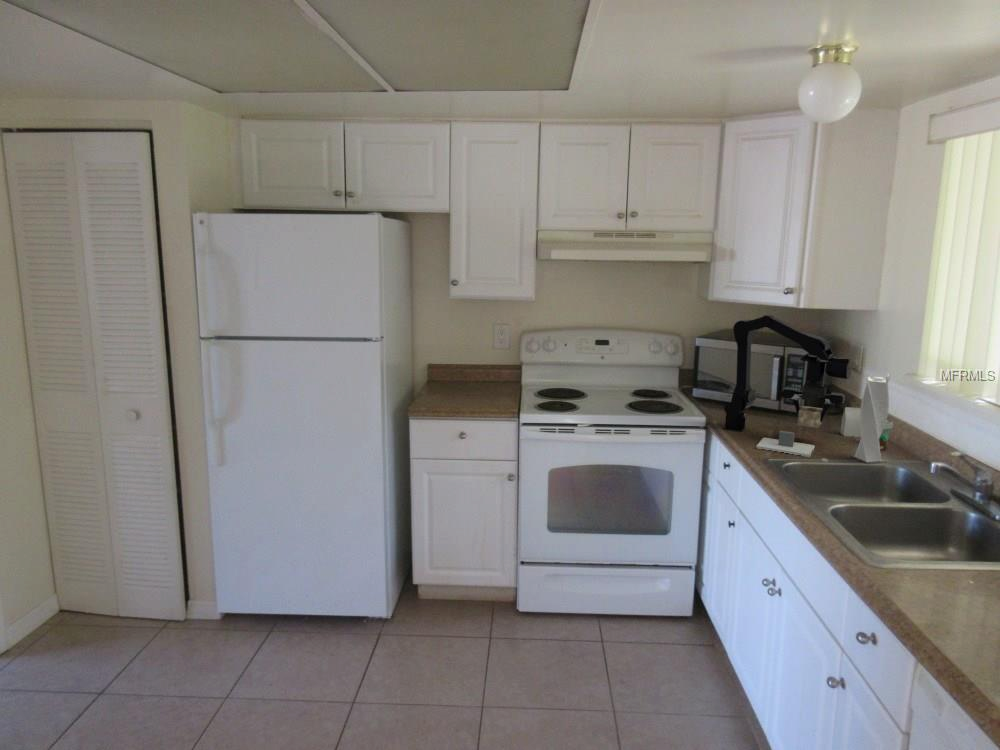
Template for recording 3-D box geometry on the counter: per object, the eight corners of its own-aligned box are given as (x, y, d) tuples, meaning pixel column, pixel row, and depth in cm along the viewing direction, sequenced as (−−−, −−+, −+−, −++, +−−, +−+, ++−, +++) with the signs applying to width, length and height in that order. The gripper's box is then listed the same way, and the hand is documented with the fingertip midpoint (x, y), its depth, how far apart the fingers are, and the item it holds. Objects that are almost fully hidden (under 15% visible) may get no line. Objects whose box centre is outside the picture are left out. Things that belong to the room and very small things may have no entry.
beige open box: (797, 425, 222) (798, 410, 221) (801, 420, 229) (802, 405, 228) (818, 428, 219) (819, 413, 218) (821, 422, 226) (823, 408, 225)
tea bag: (864, 437, 233) (867, 409, 231) (843, 436, 234) (846, 408, 233) (860, 434, 237) (863, 407, 235) (840, 433, 238) (843, 406, 236)
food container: (896, 453, 214) (900, 424, 213) (875, 452, 216) (879, 422, 214) (882, 443, 226) (886, 414, 224) (863, 441, 228) (866, 413, 226)
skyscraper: (890, 464, 204) (902, 374, 198) (866, 465, 202) (878, 375, 197) (870, 455, 212) (881, 369, 207) (847, 456, 210) (858, 370, 205)
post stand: (756, 448, 217) (757, 432, 216) (763, 440, 227) (765, 424, 226) (809, 457, 209) (811, 440, 208) (814, 448, 219) (816, 432, 218)
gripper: (780, 375, 219) (776, 421, 222) (843, 382, 209) (838, 430, 212) (786, 370, 228) (782, 414, 231) (847, 377, 219) (841, 422, 221)
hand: (809, 420), depth 224 cm, fingers closed on beige open box, 6 cm apart
